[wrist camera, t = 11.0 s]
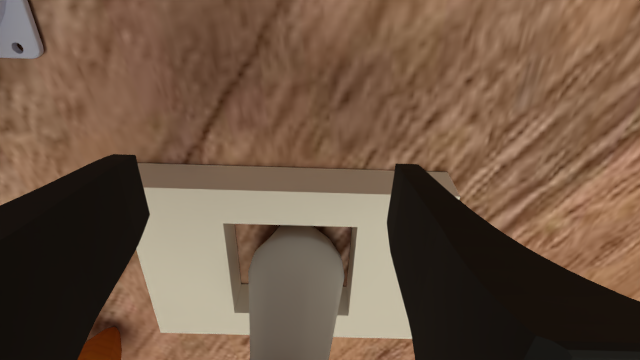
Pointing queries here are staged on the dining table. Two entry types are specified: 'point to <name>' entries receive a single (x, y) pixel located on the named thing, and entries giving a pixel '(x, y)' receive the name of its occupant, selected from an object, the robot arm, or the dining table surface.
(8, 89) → the dining table surface
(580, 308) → the robot arm
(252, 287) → the salt shaker
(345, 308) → the socket block
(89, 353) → the carrot
